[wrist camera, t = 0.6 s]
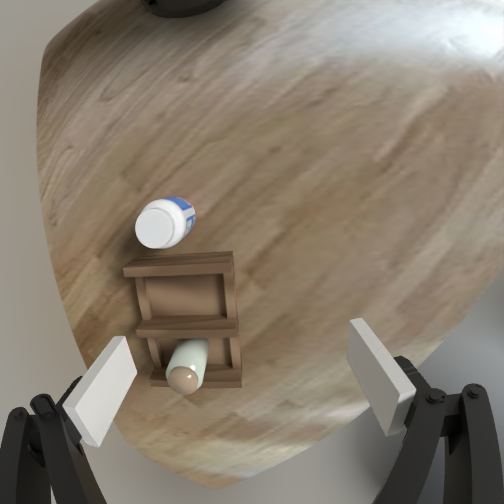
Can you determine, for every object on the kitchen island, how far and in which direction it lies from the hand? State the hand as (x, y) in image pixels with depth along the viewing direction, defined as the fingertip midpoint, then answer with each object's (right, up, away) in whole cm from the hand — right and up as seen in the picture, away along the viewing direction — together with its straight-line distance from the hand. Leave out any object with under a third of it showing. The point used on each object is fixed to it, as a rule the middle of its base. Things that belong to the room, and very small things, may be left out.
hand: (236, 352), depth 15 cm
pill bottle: (-9, +10, +21) cm, 25 cm away
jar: (-7, -8, +24) cm, 26 cm away
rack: (-8, -3, +24) cm, 25 cm away
